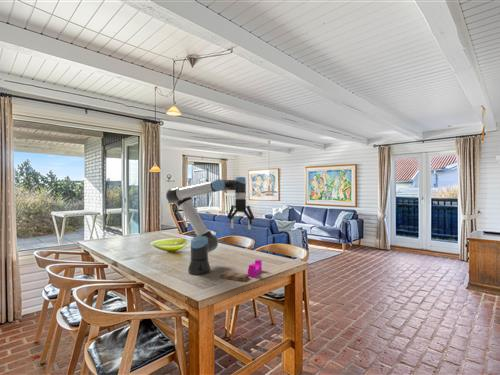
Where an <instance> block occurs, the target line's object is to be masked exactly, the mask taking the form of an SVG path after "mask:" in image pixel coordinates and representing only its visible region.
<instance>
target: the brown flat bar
mask: <svg viewBox="0 0 500 375" xmlns="http://www.w3.org/2000/svg"><path fill="white" fill-rule="evenodd" d="M219 278H220V279H225V280H230V281H231V280H232V281H237V282H246V281H247V280H249V279H250V277H249V274H248V273H241V272H235V271H234V272H233V271H228V270H224V271H223V272H222V273H220V274H219Z"/></svg>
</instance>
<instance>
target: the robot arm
mask: <svg viewBox="0 0 500 375" xmlns="http://www.w3.org/2000/svg"><path fill="white" fill-rule="evenodd" d="M246 188H247V181H246V177H245V176H236V177H235V178H234V179H221V178H220V179H219V178H218V179H217V178H216V179H215V180H212V181H207V182H202V183H197V184H194V185H188V186H185V187H184V186H183V187H182V186H181V187H180V186H177V187H171V188H169V189H168V190H167V192H166V194H165V197H166V199H167V202H169V203H171V204H176V205H177V206H178V208H179V209H182V211H183V213H184V215H185V216H186V218H187V220H188V222H189V224H190V225H191V227H192V229H193V232H194V233H195V235H196V236H194V237H192V238H191V239H190V261H189V265H188V268H187V270H188V274H190V275H196V276H199V275H206V274H209V273H210V272H211V265H210V263H209V254H210V253H211V252H213V251H214V250H215V249H217V247H218V246H219V238H218V237H217V236H216V235H215V234H213V233H212V232H211V230H209V229H207V226H206V225H205V223H204V222H203V220H202V217H201V216H200V214H199V213H198V211H197V209H196V208H195V206H194V204H193V198H192V197H197V196H201V195H206V194H211V193H217V192H220V191H225V192H226V191H234V198H235V199H234V203H235V204H232V205H230V210H229V212H228V214H227V219H229V224H230V229H234V217H235V216H236V215H237V213H244V215H245V216H246V217H247V219H248V220H247V222H248V223H247V230H251V229H252V228H251V225H252V224H253V223H252V222H253V220H255V216H254V214H253V212H252V209H251V206H250V205H247V203H246V202H247V200H246V198H247V196H246V195H247V194H246V193H247V189H246Z"/></svg>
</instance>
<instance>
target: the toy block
mask: <svg viewBox="0 0 500 375" xmlns="http://www.w3.org/2000/svg"><path fill="white" fill-rule="evenodd" d="M262 263H263V262H262V259H255V261H254V263H251V264H248V269H247V274H249V278H255V277H256V276H257V275H258V274H259V273H260V272H262V271H263V270H262V267H263V266H262Z"/></svg>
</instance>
